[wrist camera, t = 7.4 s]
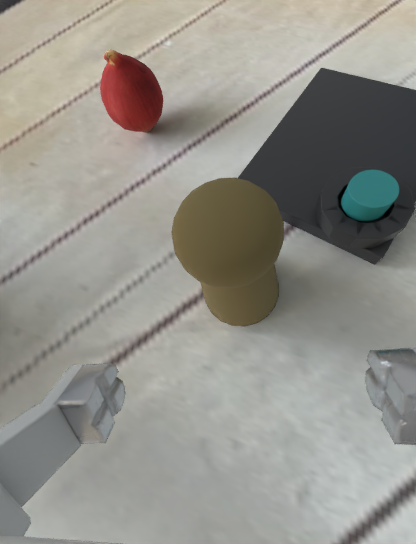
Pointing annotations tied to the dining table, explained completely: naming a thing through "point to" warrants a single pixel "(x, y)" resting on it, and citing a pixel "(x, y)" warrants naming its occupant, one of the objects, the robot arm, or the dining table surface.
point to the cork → (231, 247)
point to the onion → (130, 92)
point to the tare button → (369, 195)
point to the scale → (341, 159)
